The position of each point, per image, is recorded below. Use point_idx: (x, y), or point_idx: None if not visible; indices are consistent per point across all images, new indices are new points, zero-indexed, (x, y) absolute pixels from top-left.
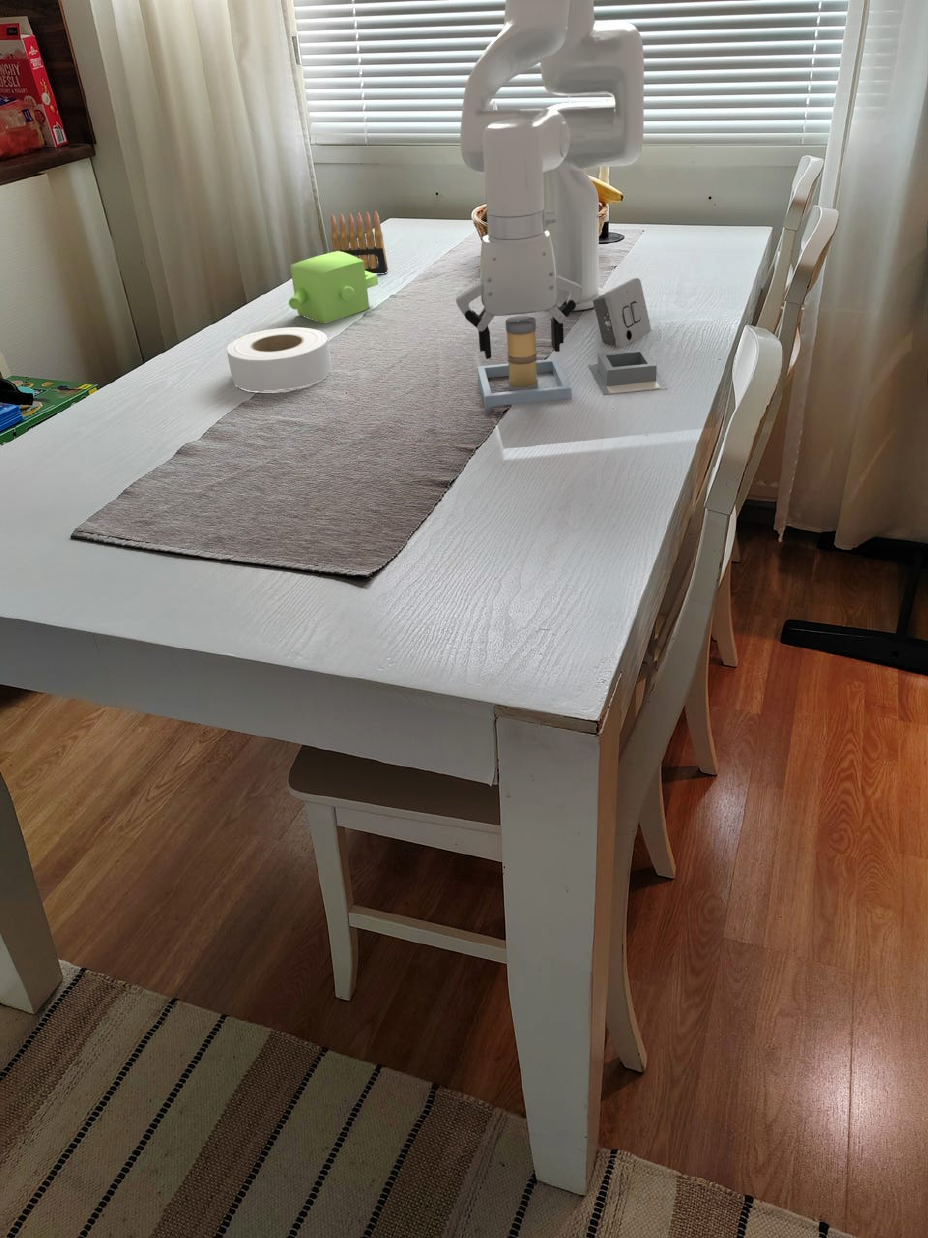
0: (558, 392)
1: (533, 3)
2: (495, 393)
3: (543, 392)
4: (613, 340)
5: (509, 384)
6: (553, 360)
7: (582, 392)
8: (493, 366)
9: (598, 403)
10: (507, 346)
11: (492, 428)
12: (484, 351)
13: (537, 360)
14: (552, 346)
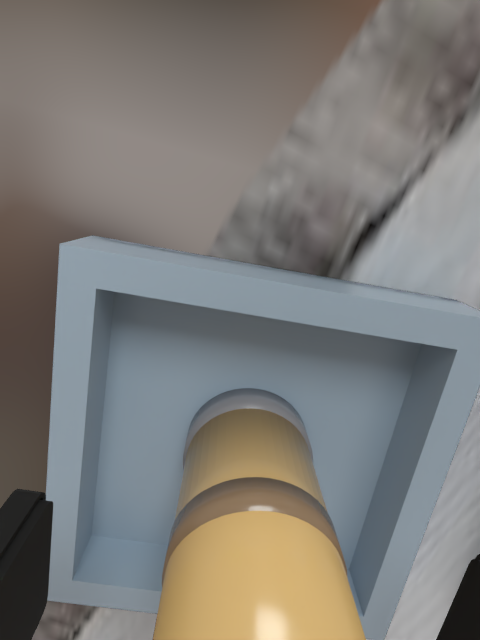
0: None
1: None
2: (88, 588)
3: None
4: None
5: (183, 467)
6: (469, 343)
7: (446, 502)
8: (148, 288)
9: (444, 595)
10: (156, 621)
11: (70, 636)
12: (18, 490)
13: (397, 306)
14: (459, 593)
